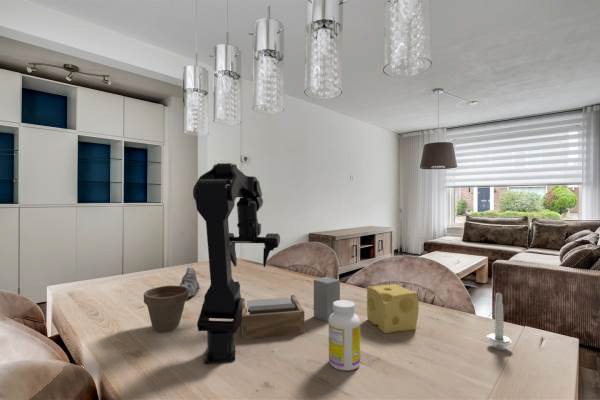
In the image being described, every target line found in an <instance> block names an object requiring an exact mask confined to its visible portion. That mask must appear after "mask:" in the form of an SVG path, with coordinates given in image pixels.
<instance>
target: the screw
mask: <svg viewBox="0 0 600 400" xmlns="http://www.w3.org/2000/svg"><path fill="white" fill-rule="evenodd" d="M504 312H505V311H504V303H503V294H502V293H501V292H496V293H495V304H494V325H493V326H494V329H493V330H494V333H490V334H488V335H486V339H487V340H488V341H489V342H491V347H492V348H494V349H495V350H497V351H498V350H500V351H505V350H506V349H507V346H509V345H511V344H512V340H511V339H510V337H507V336H506V335H504V333H505V332H504V326H505V324H504V320H505V319H504V318H505V317H504V315H505V314H504Z"/></svg>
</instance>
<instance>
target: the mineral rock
mask: <svg viewBox="0 0 600 400" xmlns="http://www.w3.org/2000/svg"><path fill="white" fill-rule="evenodd" d="M179 286H184V287H187V288H188V289H189V297H188V298H191V297H194V296H195V295H196V294H197V293H199V291H200V290H201V286H200V283H199V281H198V279H197V272H196V270H195V268H194V267H189V266H188V267H187V268H186V273H185V274H184V275H183V277H182V278H181V282H180V284H179Z"/></svg>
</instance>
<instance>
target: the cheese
mask: <svg viewBox="0 0 600 400" xmlns="http://www.w3.org/2000/svg"><path fill="white" fill-rule="evenodd" d="M366 288H367V289H366V314H367V317H366V318H367V320H368V321H369V322H370V323H371V324H372V325H374V326H377V327H378V329H379V330H380V331H381V332H382V333H384V334H390V333H396V332H397V333H398V332H402V331H404V332H405V331H414V330H417V324H418V317H419V307H420V306H419V295H418V292H417V291H414V290H410V289H407V288H405V287H403V286H401V285H398V284H396V283H393V284H391V283H390V284H384V285H372V286H371V285H368V286H367V287H366Z"/></svg>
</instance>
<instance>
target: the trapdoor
mask: <svg viewBox="0 0 600 400" xmlns="http://www.w3.org/2000/svg"><path fill="white" fill-rule="evenodd" d="M246 306H247V307H246V308H247V313H249V314H261V313H274V312H287V311H295V306H294V304H293V303H292V302H291V297H275V298H264V299H263V298H262V299H260V298H259V299H249V300H246Z"/></svg>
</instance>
